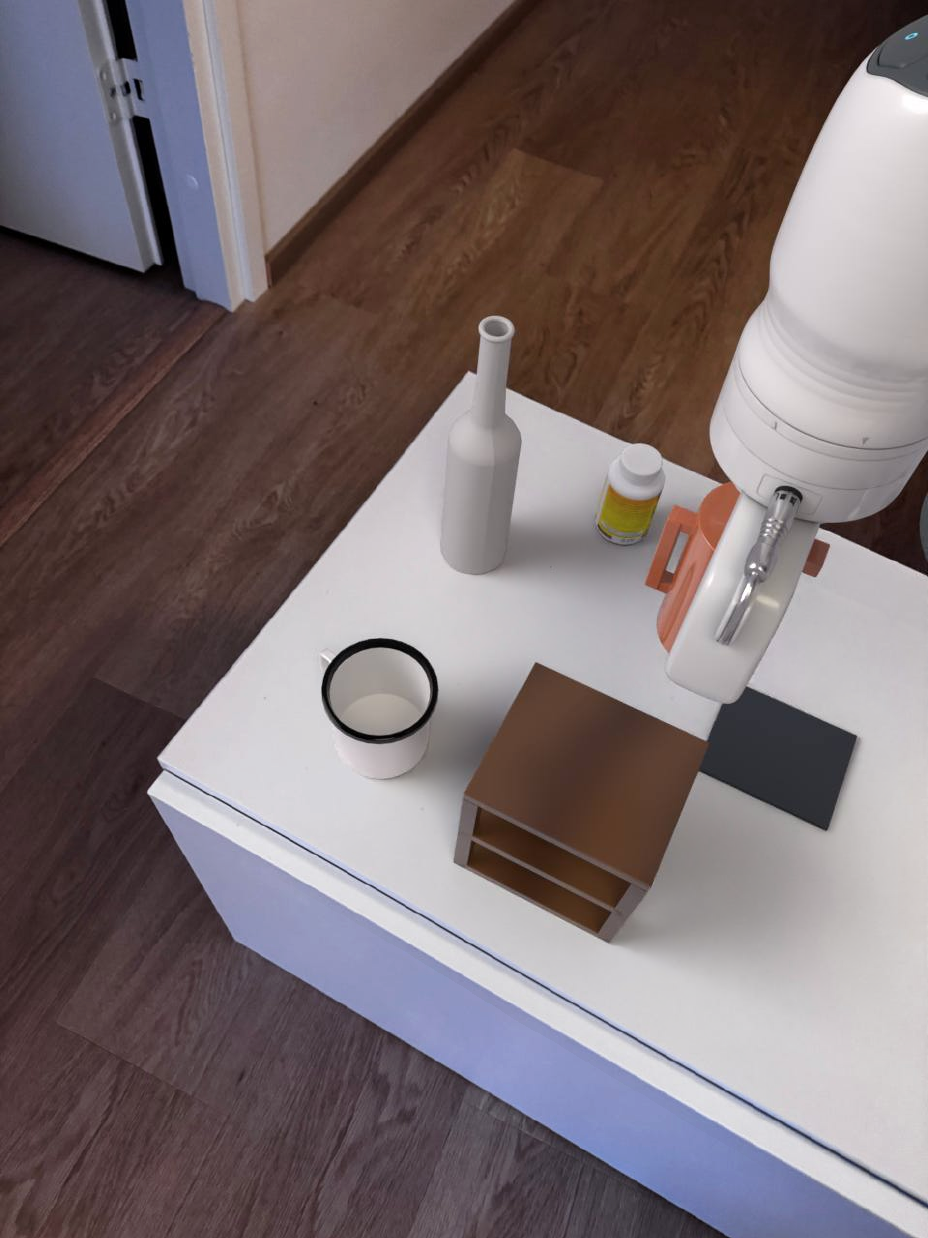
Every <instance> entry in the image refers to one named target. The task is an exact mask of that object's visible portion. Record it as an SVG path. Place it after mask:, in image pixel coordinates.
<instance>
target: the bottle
mask: <svg viewBox="0 0 928 1238" xmlns="http://www.w3.org/2000/svg"><path fill="white" fill-rule="evenodd" d="M515 332H516V329H515V326H514V324H513V322H512V321H511V320H510V319H509V318H506V317H504V316H501V315H490V316H487V317H485V318H483V319H482V320H481V321H480V322H479V325H478V333H479V335H480V337H479V338H480V340H479V347H478V349H479V350H478V359H477V366H476V367H477V368H476V377H475V378H476V379H475V386H474V391H473V396H472V403H471V408H470V409H468V410H467V411H466V412H464V413H462V414H460V415H459V416H458V417H457V419H456V420H455V421H453V423H452V424H451V426H450V429H449V431H448V434H447V447H446V461H445V473H444V484H443V485H444V487H443V498H442V499H443V501H442V513H441V526H440V541H439V542H440V543H439V546H440V553H441V556H442V558H443V560H444V561H445V562H446V564H448V566H450V568H452V569H454V570H455V571H457V572H460V573H463V574H467V575H483V574H486V573H489V572H492V571H493V570H495V569H496V568H498V567H499V566H500V565H501V564H502V562H503V561H504V559H505V555H506V552H507V546H508V539H509V533H510V527H511V521H512V514H513V506H514V500H515V499H514V498H515V492H516V487H517V479H518V472H519V464H520V456H521V451H522V450H521V449H522V443H523V441H522V433H521V431H520V429H519V427H518V425H517V424H516V422H515V421H514V419H513V418H512V417H511V416H509V415H508V414H507V413H506V401H507V400H506V399H507V382H508V374H509V366H510V364H509V363H510V356H511V349H512V348H511V347H512V339H513V337H514V335H515Z"/></svg>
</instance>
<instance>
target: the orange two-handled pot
mask: <svg viewBox="0 0 928 1238" xmlns="http://www.w3.org/2000/svg"><path fill="white" fill-rule="evenodd" d="M739 495H740V492H739V491H738V490H737V488H736V487H735V485H734V483H733V482H732V481H728V482H725V483H723V484H720V485H718V486H716V487H715V488H713V489H712V490H710V491H709V492H708V493H707V494H706V495H705V497H703V499H702V501H701V502H700V505H699V507H698V510H697V512H694V511H692V510H690V509H688V508H685V507H683V506H680V505H678V504H673V507H672V508H671V510H670V512H669V514H668V516H667V518H666V521H665V522H664V523H665V524H664V527H663V529H662V532H661V535H660V538H659V541H658V543H657V546H656V549H655V551H654V554H653V557H652V560H651V563H650V566H649V569H648V572H647V575H646V578H645V581H644V586H646V587H648V588H651V589H653V590H654V591H658V592H660V593H663V594H664V598H663V600H662V602H661V605H660V607H659V610H658V613H657V616H656V632H657V636H658V639H659V641H660V643H661V645H662V647H663V649H664V650H665V651H666V652H667V653H668V654H669V653H670V650H671V648H672V646H673V644H674V641H675V639H676V637H677V634H678V632H679V630H680V628H681V625H682V623H683V621H684V619H685V616H686V614H687V612H688V609H689V607H690V605H691V603H692V600H693V598H694V596H695V594H696V591H697V589H698V587H699V585H700V582H701V580H702V578H703V576H704V573H705V571H706V569H707V567H708V564H709V562H710V560H711V558H712V555H713V553H714V551H715V549H716V547H717V544H718V542H719V540H720V538H721V535H722V533H723V531H724V529H725V527H726V524H727V522H728V520H729V518H730V515H731V513H732V511H733V509H734V507H735V504H736V502H737V500H738V498H739ZM680 534H684V535H686V536H687V538H686V541H685V544H684V546H683V549H682V550H681V554H680V556H679V559H678V562H677V564H676V566H675V569H674V571H673V572H671V571H669V570H667V568H668V567H669V563H670V560H671V558H672V555H673V552H674V551H675V548H676V545H677V542H678V539H679V537H680ZM830 548H831V544H830V543H828V542H826V541H823V540H820V539H818V538H815V540H814V542H813V545H812V547H811V550H810V553H809V555H808V558H807V561H806V563H805V566H804V568H803V571H802V574H805V575H807V576H810V577H812V578H817V577H818V575H819V573H820V572H821V570H822V568H823V567H824V564H825V562H826V559H827V556H828V554H829V550H830Z"/></svg>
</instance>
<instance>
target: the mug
mask: <svg viewBox="0 0 928 1238" xmlns="http://www.w3.org/2000/svg"><path fill="white" fill-rule="evenodd" d="M318 663H319V668H320V673H321V676H322V681H321V686H320V695H321V697H320V698H321V704H322V707H323V711H324V713H325V714H326V716H327V718H328V720H329V721H330V723H331V728H332V737H333V744H334V747H335V751H336V753H337V755H338V757H339V758H340V760H341V761H342V762H343V763H344V764H345V766H346V767H348V768H349V770H351V771H352V772H354V773H356V774H358V775H360V776H362V777H365V778H370V779H378V780H385V779H392V778H395V777H398V776H401V775H404V774H405V773H408V772H409V771H410V770H411V769H413V768H414V767H415V766H417V765H418V763H419V762H420V761H421V760H422V759H423V757H424V755H425V753H426V752H427V749H428V745H429V740H430V728H431V727H430V726H431V717H432V716H433V714H434V712H435V711H436V707H437V704H438V702H439V691H440V690H439V682H438V677H437V673H436V671H435V668H434V667H433V665H432V663H431V662H430V661H429V659H428V658H427V657H426V655H424V653H422V652H421V651H420V650H418V649H417V648H416V647H414V646H413V645H411V644H408V643H406V642H405V641H401V640H397V639H393V638H386V637H377V638H367V639H364V640H360V641H357V642H355V643H352V644H350V645H348V646H347V647H345V648H344V649H343V650H340V651H339V653H338V654H336V653H334V652H333V651H332V650H331V649H329V648H328V647H327V648H324V649H322V651H320V652H318Z"/></svg>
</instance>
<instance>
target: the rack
mask: <svg viewBox="0 0 928 1238" xmlns="http://www.w3.org/2000/svg"><path fill="white" fill-rule="evenodd" d="M708 746H709V742H707V740H705V739H703V738H701V737H699V736H696V735H694V734H692V733H690V732H688V731H686V730H683V729H681V728H679V727H677V726H675V725H672V724H670V723H668V722H666V721H664V720H662V719H660V718H658V717H655V716H653V715H651V714H649V713H647V712H644V711H643V710H640V709H638V708H636V707H635V706H632V705H629V704H628V703H624V702H623V701H621V700H619V699H617V698H615V697H613V696H610V695H608V694H606V693H603V692H602V691H599V690H597V689H595V688H593V687H592V686H589V685H586V684H585V683H583V682H581V681H578V680H576V679H574V678H571V677H570V676H567V675H566V674H563V673H561V672H559V671H557V670H555V669H552V668H550V667H548V666H546V665H544V664H542V663H540V662H537V661H535V662H534V664H533V666H532V668H531V669H530V671H529V673H528V675H527V676H526V679H525V680H524V682H523V683H522V685H521V688H520V689H519V691H518V693H517V695H516V697H515V698H514V700H513V702H512V704H511V706H510V708H509V709H508V711H507V713H506V715H505V717H504V719H503V720H502V722H501V723H500V726H499V728H498V729H497V732H496V733H495V735H494V737H493V738H492V740H491V743H490V744H489V745H488V748H487V750H486V752H485V753H484V755H483V757H482V759H481V760H480V762H479V764H478V766H477V768H476V769H475V772H474V773H473V774H472V777H471V779H470V781H469V782H468V784H467V786H466V788H465V790H464V791H463V797H462V803H461V808H460V815H459V820H458V821H459V822H458V828H457V835H456V841H455V847H454V854H453V860H452V861H453V863H454V864H455V865H457V866H459V867H460V868H462V869H465V870H466V871H468V872H471V873H473V874H474V875H477V876H478V877H479V878H482V879H484V880H486V881H488V882H490V883H492V884H494V885H495V886H497V887H499V888H501V889H504V891H506V892H509V893H511V894H512V895H515V896H517V897H518V898H521V899H523V900H524V901H526V902H528V903H530V904H532V905H534V906H536V907H538V908H540V909H541V910H544V911H545V912H547V913H550V914H551V915H553V916H555V917H557V918H559V919H560V920H563V921H565V922H567V923H568V924H571V925H573V926H574V927H576V928H578V929H580V930H582V931H584V932H585V933H588V934H590V935H592V936H594V937H596V938H597V939H599V940H601V941H603V942H605V943H607V944H611V942H612V941H613V940H614V938H615V937H616V936H617V934H618V933H619V932H620V930H621V929H622V927H624V925H625V924H626V922H627V921H628V919H629V918H630V917H631V915H632V914H633V912H634V911H635V910H636V909H637V907H638V906H639V904H640V903H641V902H642V900H643V899H644V898H645V896H647V893H648V892H649V891H650V889H651V888H652V886H653V883H654V882H655V879H656V876H657V874H658V872H659V868H660V866H661V864H662V862H663V859H664V857H665V855H666V852H667V849H668V847H669V844H670V842H671V840H672V837H673V834H674V832H675V830H676V827H677V825H678V822H679V820H680V817H681V815H682V812H683V810H684V807H685V805H686V803H687V800H688V798H689V795H690V793H691V791H692V788H693V785H694V783H695V781H696V778H697V776H698V773H699V772H700V771H699V769H700V766H701V764H702V761H703V759H704V756H705V754H706V751H707V749H708Z"/></svg>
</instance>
